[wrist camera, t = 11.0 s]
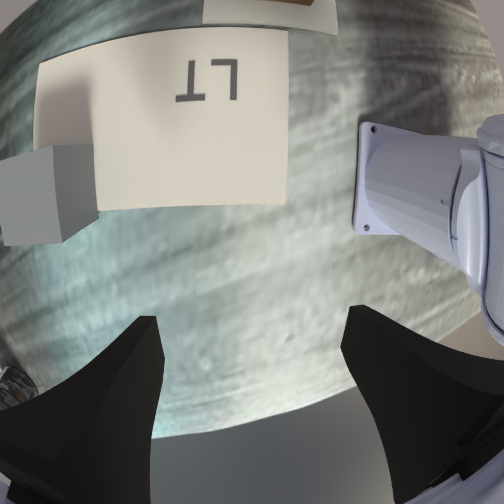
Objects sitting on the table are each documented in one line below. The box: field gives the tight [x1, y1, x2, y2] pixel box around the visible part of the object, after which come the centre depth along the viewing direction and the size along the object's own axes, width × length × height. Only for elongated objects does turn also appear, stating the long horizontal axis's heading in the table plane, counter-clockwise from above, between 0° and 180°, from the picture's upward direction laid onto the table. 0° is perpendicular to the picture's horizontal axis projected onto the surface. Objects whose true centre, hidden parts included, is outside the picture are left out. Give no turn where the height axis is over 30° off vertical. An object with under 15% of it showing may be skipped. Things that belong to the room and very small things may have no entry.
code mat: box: [33, 27, 289, 211], centre depth 14 cm, size 18×12×1 cm, turn 89°
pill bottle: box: [0, 366, 38, 411], centre depth 16 cm, size 6×6×11 cm
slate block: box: [0, 144, 99, 246], centre depth 13 cm, size 5×5×5 cm
